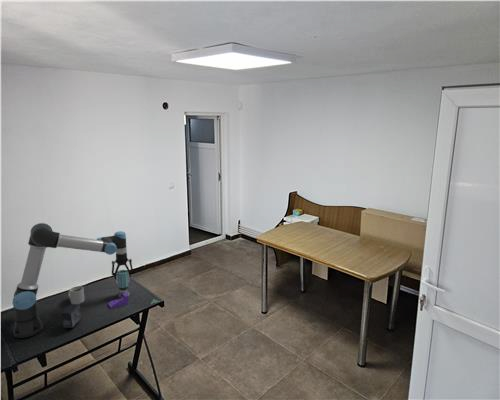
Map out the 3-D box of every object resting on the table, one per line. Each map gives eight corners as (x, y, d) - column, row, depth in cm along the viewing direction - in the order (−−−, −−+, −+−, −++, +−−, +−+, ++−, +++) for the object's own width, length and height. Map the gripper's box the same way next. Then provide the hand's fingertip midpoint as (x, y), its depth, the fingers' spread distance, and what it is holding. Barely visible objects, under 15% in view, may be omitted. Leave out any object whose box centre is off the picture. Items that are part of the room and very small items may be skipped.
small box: (71, 318, 220) (70, 303, 218) (81, 319, 220) (80, 304, 218) (62, 327, 210) (60, 312, 208) (72, 328, 209) (71, 312, 207)
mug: (85, 302, 241) (84, 289, 239) (70, 306, 235) (69, 293, 234) (83, 296, 250) (81, 283, 248) (68, 300, 244) (67, 287, 242)
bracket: (125, 300, 245) (125, 291, 244) (128, 304, 240) (127, 295, 238) (108, 305, 238) (107, 296, 237) (110, 309, 233) (109, 300, 231)
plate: (118, 299, 246) (118, 297, 246) (118, 294, 253) (117, 293, 253) (130, 297, 249) (130, 295, 249) (129, 292, 256) (129, 291, 256)
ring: (119, 290, 246) (119, 288, 246) (119, 287, 251) (118, 285, 251) (128, 289, 249) (128, 286, 248) (127, 286, 254) (127, 283, 254)
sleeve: (118, 288, 245) (117, 274, 243) (117, 284, 251) (116, 270, 249) (129, 286, 248) (128, 272, 246) (128, 282, 254) (127, 269, 252)
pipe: (120, 296, 248) (119, 275, 245) (120, 293, 252) (119, 273, 249) (127, 295, 250) (126, 274, 247) (127, 292, 254) (125, 272, 251)
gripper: (106, 256, 237) (108, 286, 241) (136, 252, 246) (138, 282, 250) (105, 253, 244) (107, 282, 248) (135, 249, 252) (136, 278, 257)
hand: (123, 282), depth 249 cm, fingers closed on sleeve, 7 cm apart
